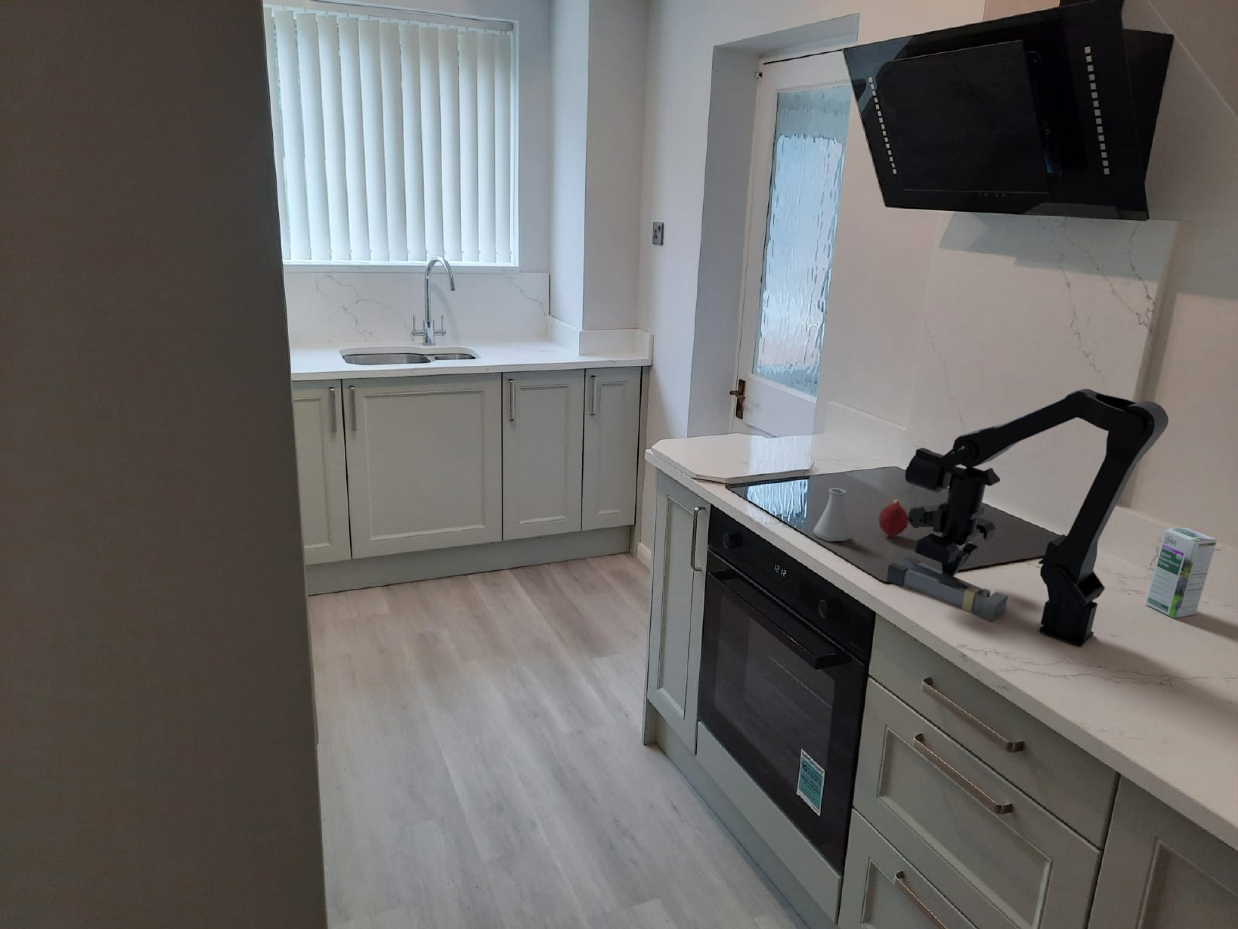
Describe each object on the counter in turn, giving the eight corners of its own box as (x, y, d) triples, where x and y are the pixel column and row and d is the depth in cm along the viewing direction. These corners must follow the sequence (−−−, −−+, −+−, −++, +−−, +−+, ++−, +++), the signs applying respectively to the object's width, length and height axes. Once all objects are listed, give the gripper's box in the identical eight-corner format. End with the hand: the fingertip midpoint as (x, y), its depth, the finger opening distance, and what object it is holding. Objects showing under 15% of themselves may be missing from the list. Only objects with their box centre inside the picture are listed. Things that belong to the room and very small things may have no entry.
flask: (856, 541, 173) (863, 495, 170) (826, 544, 170) (833, 497, 167) (835, 528, 180) (841, 483, 176) (806, 531, 177) (812, 486, 174)
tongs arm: (990, 608, 146) (993, 591, 145) (983, 610, 145) (987, 593, 144) (906, 570, 159) (909, 555, 158) (900, 572, 158) (902, 557, 157)
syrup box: (1143, 604, 151) (1163, 528, 147) (1167, 600, 153) (1187, 525, 149) (1173, 619, 146) (1194, 541, 142) (1197, 615, 148) (1219, 537, 144)
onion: (906, 543, 173) (912, 506, 171) (877, 540, 174) (883, 503, 172) (903, 533, 179) (909, 497, 176) (875, 530, 180) (880, 494, 177)
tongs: (1004, 612, 145) (1008, 593, 144) (992, 622, 141) (996, 602, 140) (898, 574, 158) (901, 556, 157) (884, 581, 155) (887, 563, 154)
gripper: (945, 475, 159) (930, 550, 165) (894, 498, 147) (879, 578, 153) (1004, 494, 152) (986, 572, 157) (955, 519, 140) (937, 603, 145)
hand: (946, 580), depth 153 cm, fingers closed
